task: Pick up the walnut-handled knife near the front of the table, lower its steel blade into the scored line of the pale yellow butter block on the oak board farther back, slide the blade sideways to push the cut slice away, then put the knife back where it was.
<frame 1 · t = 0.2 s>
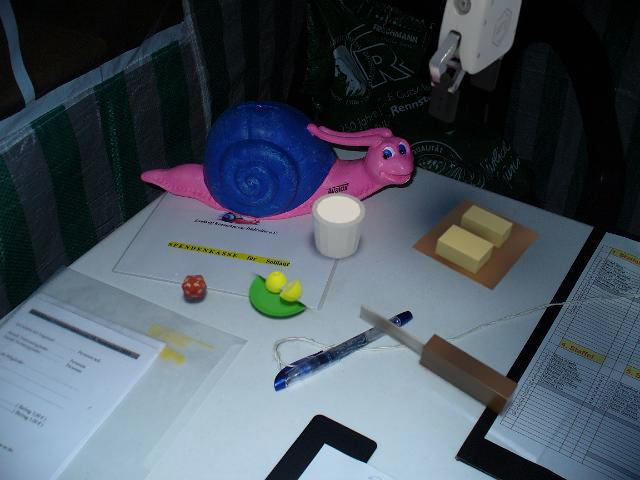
hand: (462, 102, 72), 19 cm above the table, tool pointing down, fingers open, 9 cm apart
white ramekin: (336, 249, 81), on the table
cutting board: (475, 245, 82), on the table
knife: (462, 386, 65), on the table
butter: (462, 255, 79), point 1 cm above the table, touching cutting board
green and yellow piece: (281, 295, 75), on the table
die: (196, 296, 74), on the table
butter slice: (483, 233, 82), point 1 cm above the table, touching cutting board
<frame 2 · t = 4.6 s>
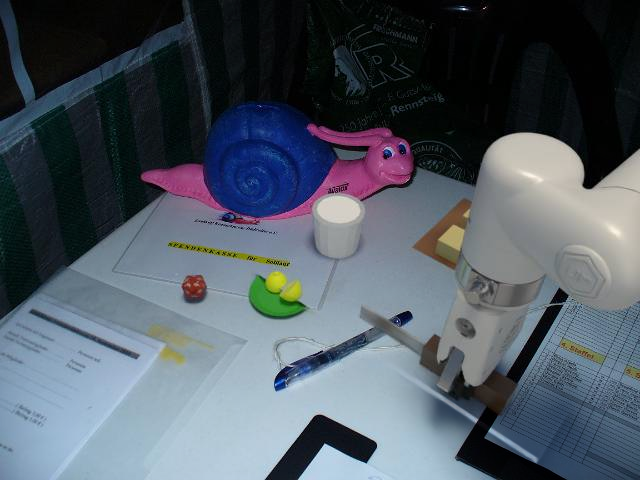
hand: (462, 385, 65), 0 cm above the table, tool pointing down, fingers closed on knife, 2 cm apart
knife: (462, 386, 65), on the table, touching gripper
everything else where it was.
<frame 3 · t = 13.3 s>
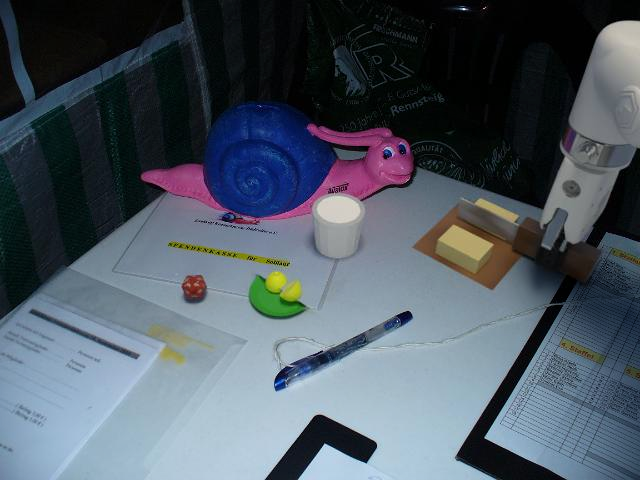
hand: (552, 259, 77), 2 cm above the table, tool pointing down, fingers closed on knife, 2 cm apart
knife: (551, 260, 78), point 2 cm above the table, touching butter slice, gripper
butter slice: (490, 225, 83), point 1 cm above the table, touching knife
everything else where it was.
when the fingers open (0 cm above the table, at t = 20.7 s): knife stays where it is, on the table.
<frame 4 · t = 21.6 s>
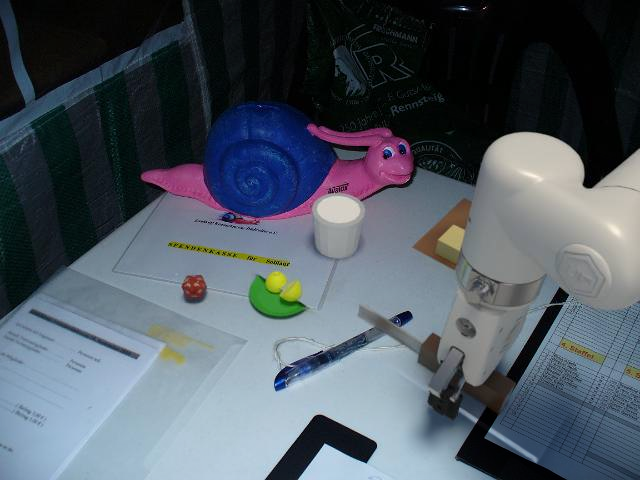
hand: (465, 379, 64), 1 cm above the table, tool pointing down, fingers open, 9 cm apart
knife: (460, 385, 65), on the table
butter slice: (490, 225, 83), point 1 cm above the table, touching cutting board
everything else where it was.
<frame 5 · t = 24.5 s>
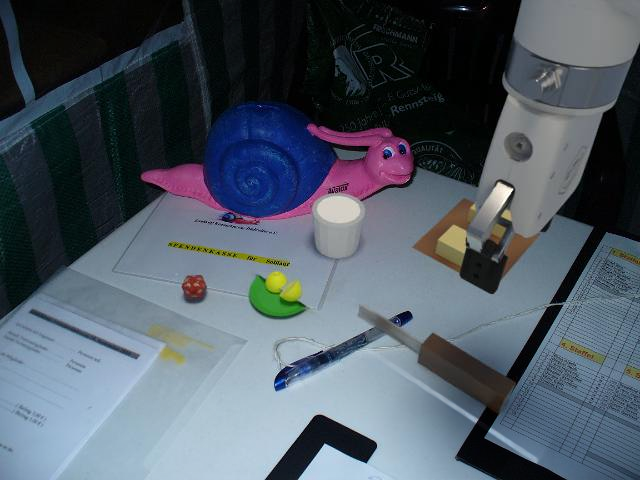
hand: (505, 252, 51), 20 cm above the table, tool pointing down, fingers open, 9 cm apart
nothing on the table moved.
at the end: butter slice 0.8 cm from the target spot on the table beside the butter, resting on cutting board; butter moved 0.0 cm from its start; knife inside the target area (0.3 cm from its centre), on the table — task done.
